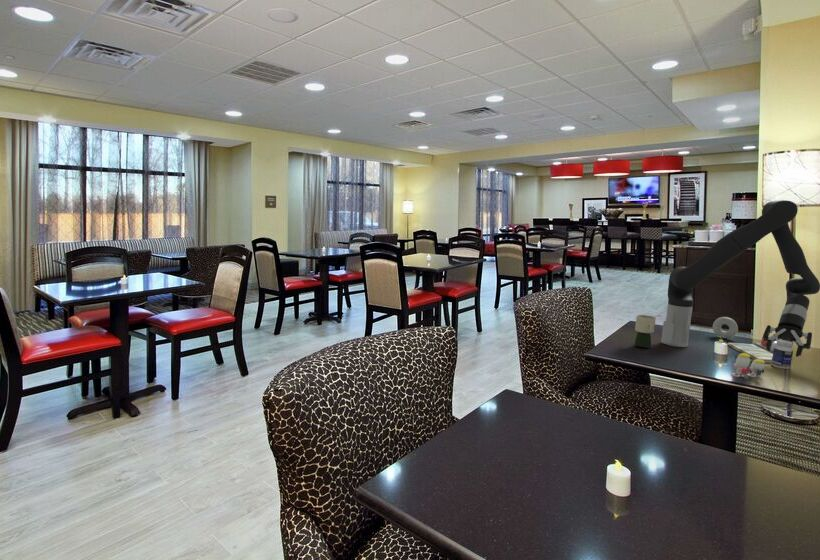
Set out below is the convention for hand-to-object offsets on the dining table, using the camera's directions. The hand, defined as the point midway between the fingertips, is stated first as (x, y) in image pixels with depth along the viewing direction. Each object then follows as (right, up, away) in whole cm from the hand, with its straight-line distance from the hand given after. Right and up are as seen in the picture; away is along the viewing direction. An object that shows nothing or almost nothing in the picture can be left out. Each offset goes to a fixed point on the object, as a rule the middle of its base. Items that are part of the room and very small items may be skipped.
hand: (782, 352), depth 179 cm
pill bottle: (0, -6, +1) cm, 6 cm away
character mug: (-43, -1, +20) cm, 47 cm away
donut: (+4, 0, +40) cm, 40 cm away
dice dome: (+13, -4, +23) cm, 26 cm away
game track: (+2, -3, +17) cm, 17 cm away
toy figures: (-21, -7, -11) cm, 25 cm away
